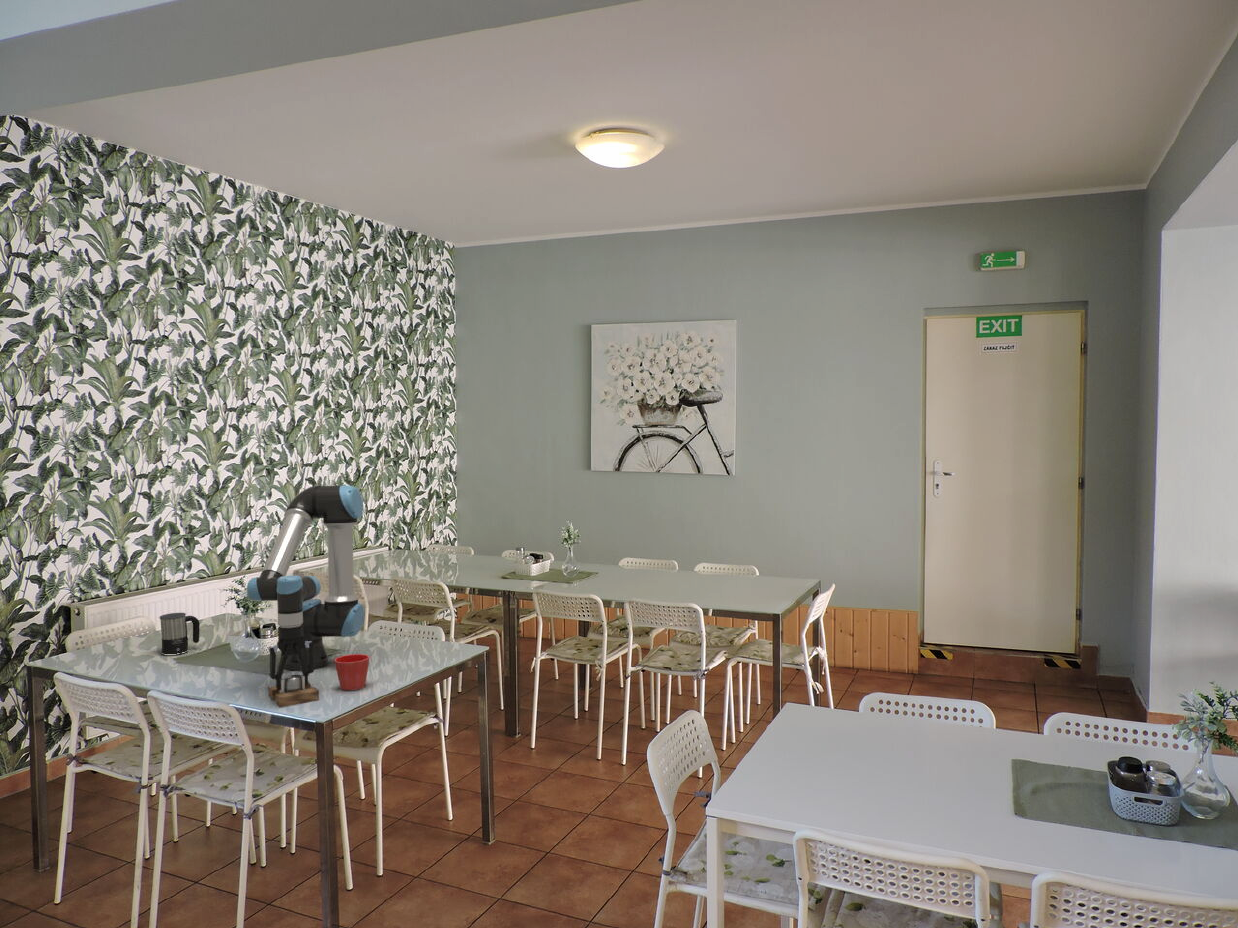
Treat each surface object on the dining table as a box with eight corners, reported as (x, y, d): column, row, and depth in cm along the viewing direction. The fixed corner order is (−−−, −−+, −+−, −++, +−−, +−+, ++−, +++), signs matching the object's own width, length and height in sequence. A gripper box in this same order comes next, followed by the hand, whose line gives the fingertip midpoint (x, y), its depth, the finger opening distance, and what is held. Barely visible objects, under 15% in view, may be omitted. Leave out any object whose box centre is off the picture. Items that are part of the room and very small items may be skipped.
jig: (306, 689, 291) (306, 680, 291) (319, 699, 280) (318, 690, 279) (268, 696, 284) (268, 686, 284) (279, 707, 273) (279, 697, 273)
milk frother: (170, 657, 334) (168, 618, 334) (145, 652, 342) (144, 614, 342) (204, 648, 347) (203, 611, 346) (180, 644, 355) (178, 607, 354)
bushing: (299, 694, 285) (298, 673, 285) (303, 698, 281) (302, 677, 281) (283, 697, 282) (282, 676, 282) (287, 701, 278) (286, 679, 278)
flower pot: (339, 682, 297) (338, 654, 297) (372, 681, 298) (372, 653, 298) (332, 692, 287) (331, 663, 286) (366, 691, 288) (365, 661, 287)
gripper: (317, 619, 289) (318, 689, 290) (256, 627, 278) (258, 700, 279) (323, 623, 283) (325, 695, 284) (262, 631, 272) (264, 705, 273)
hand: (292, 697), depth 281 cm, fingers open, 6 cm apart
